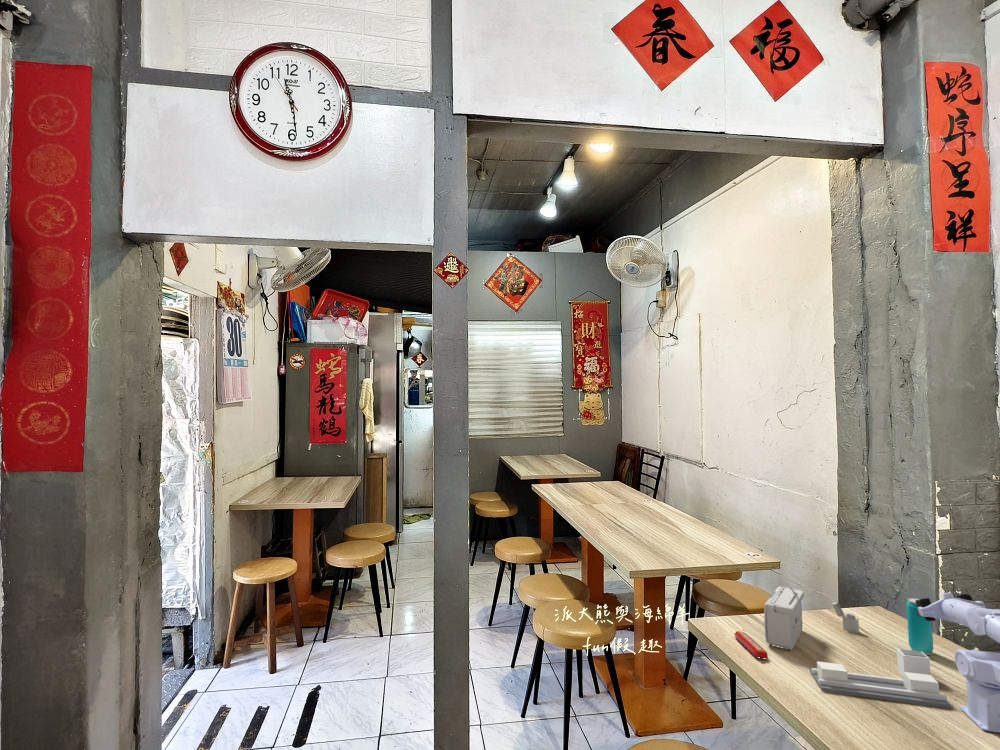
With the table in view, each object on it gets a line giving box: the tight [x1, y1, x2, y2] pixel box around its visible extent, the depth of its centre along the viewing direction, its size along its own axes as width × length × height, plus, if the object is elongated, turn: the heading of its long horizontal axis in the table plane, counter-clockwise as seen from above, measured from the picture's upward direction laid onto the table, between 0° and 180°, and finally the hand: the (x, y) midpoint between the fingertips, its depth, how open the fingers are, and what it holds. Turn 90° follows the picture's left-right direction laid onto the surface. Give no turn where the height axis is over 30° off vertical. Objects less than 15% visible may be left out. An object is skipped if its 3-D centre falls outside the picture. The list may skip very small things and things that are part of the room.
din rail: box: [809, 667, 952, 710], centre depth 134 cm, size 10×28×2 cm, turn 74°
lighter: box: [831, 601, 860, 634], centre depth 171 cm, size 7×2×8 cm, turn 38°
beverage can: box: [906, 597, 934, 656], centre depth 155 cm, size 6×6×15 cm
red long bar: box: [734, 630, 769, 660], centre depth 157 cm, size 16×4×3 cm, turn 0°
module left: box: [816, 661, 848, 682], centre depth 137 cm, size 4×6×4 cm, turn 74°
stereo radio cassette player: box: [763, 583, 805, 651], centre depth 164 cm, size 21×8×20 cm, turn 141°
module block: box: [896, 648, 931, 676], centre depth 141 cm, size 4×6×6 cm, turn 74°
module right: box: [902, 672, 940, 694], centre depth 131 cm, size 4×6×4 cm, turn 74°
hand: (933, 602), depth 141 cm, fingers open, 7 cm apart
